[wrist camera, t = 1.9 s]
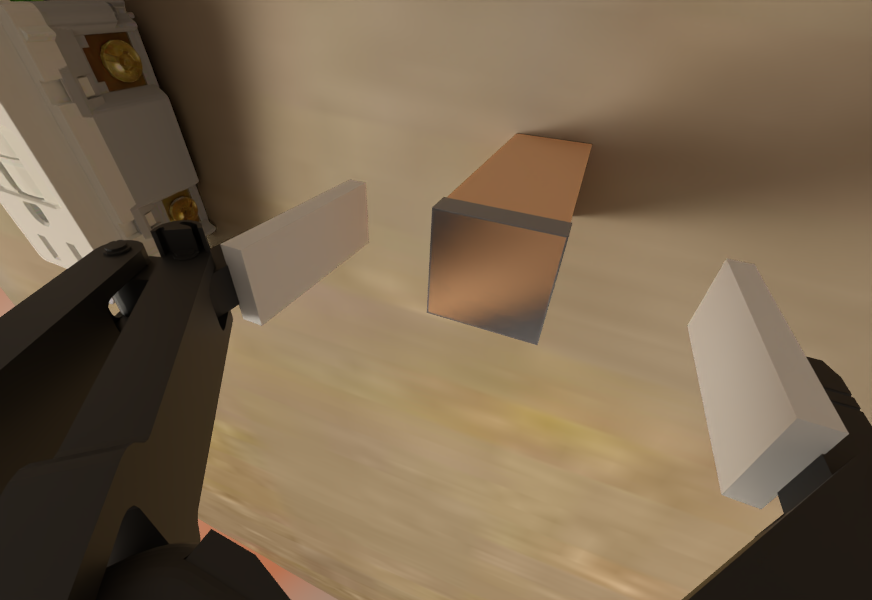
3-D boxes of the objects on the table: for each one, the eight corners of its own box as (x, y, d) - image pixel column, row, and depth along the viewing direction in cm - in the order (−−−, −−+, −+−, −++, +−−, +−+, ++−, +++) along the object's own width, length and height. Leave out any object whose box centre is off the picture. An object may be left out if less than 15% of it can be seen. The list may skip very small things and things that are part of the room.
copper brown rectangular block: (503, 203, 23) (427, 312, 14) (515, 132, 21) (432, 207, 12) (572, 217, 22) (537, 345, 13) (593, 143, 20) (568, 236, 10)
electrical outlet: (108, -135, 21) (-170, -202, 14) (247, 278, 39) (161, 342, 32) (-23, -133, 24) (-307, -187, 17) (164, 250, 42) (67, 303, 35)
